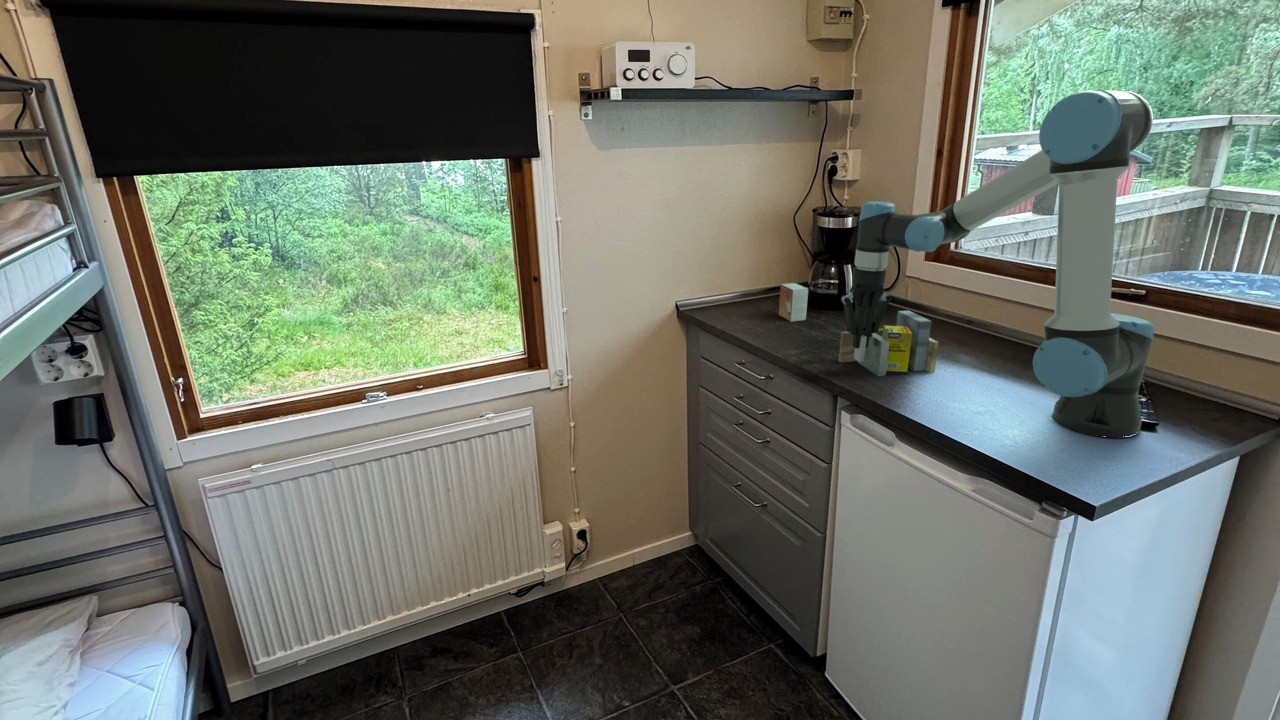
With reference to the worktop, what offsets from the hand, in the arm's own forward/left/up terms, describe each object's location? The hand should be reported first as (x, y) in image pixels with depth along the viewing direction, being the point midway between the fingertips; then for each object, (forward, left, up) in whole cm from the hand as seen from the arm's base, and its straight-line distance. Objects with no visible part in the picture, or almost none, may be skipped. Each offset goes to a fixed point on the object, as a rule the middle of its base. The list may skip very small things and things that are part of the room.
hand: (858, 359), depth 167 cm
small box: (+49, -3, -3) cm, 49 cm away
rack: (+1, -8, -3) cm, 9 cm away
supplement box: (-2, -9, -3) cm, 9 cm away
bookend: (0, -4, -3) cm, 5 cm away
